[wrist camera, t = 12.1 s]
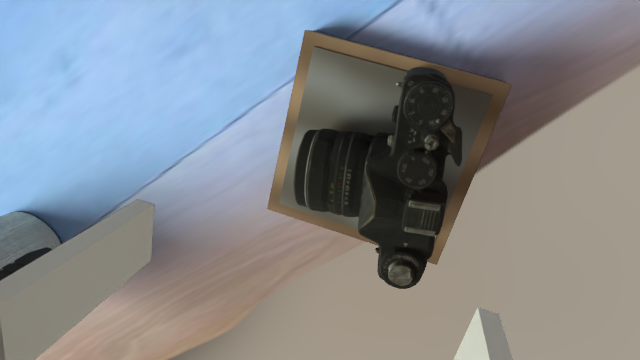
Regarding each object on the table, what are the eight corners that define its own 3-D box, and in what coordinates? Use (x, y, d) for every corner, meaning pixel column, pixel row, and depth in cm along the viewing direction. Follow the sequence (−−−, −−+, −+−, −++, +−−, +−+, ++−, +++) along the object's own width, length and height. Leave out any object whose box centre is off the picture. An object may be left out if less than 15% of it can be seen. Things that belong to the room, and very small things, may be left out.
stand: (313, 30, 34) (304, 30, 31) (504, 81, 32) (512, 85, 29) (276, 197, 40) (266, 209, 37) (435, 249, 38) (436, 265, 35)
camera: (323, 54, 31) (284, 61, 22) (464, 70, 29) (485, 85, 20) (308, 214, 36) (270, 274, 27) (428, 237, 34) (431, 310, 25)
